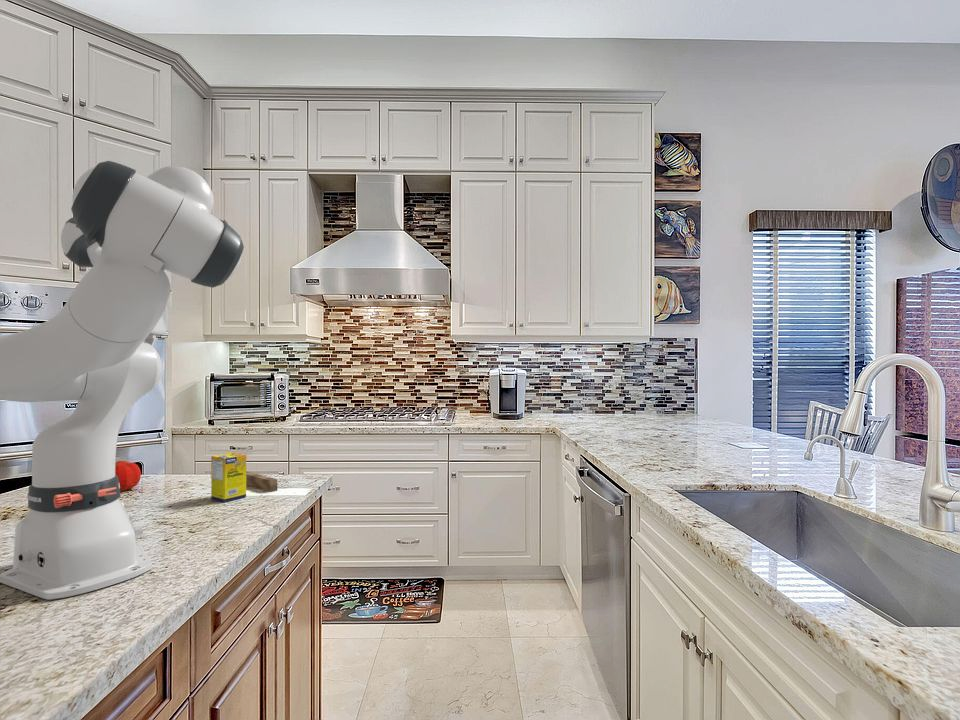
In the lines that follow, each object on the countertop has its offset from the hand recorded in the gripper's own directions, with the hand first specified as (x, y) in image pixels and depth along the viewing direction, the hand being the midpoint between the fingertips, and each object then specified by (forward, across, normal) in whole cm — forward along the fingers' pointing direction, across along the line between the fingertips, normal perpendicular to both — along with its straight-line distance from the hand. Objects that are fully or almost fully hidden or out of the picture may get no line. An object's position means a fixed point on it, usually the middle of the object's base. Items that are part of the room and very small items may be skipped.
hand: (135, 353), depth 110 cm
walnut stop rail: (+36, +24, -18) cm, 47 cm away
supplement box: (+37, +13, -15) cm, 42 cm away
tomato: (+36, +23, +18) cm, 46 cm away
